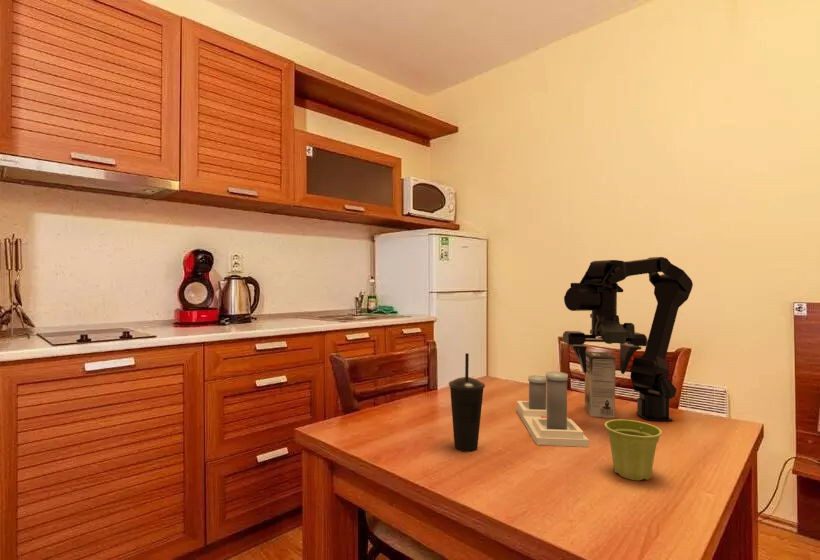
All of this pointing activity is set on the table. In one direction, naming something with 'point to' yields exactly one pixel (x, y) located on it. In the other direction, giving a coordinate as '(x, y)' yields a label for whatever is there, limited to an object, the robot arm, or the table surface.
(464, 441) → the drinking cup
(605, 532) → the table surface
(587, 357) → the coffee box
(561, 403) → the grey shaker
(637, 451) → the plant pot
